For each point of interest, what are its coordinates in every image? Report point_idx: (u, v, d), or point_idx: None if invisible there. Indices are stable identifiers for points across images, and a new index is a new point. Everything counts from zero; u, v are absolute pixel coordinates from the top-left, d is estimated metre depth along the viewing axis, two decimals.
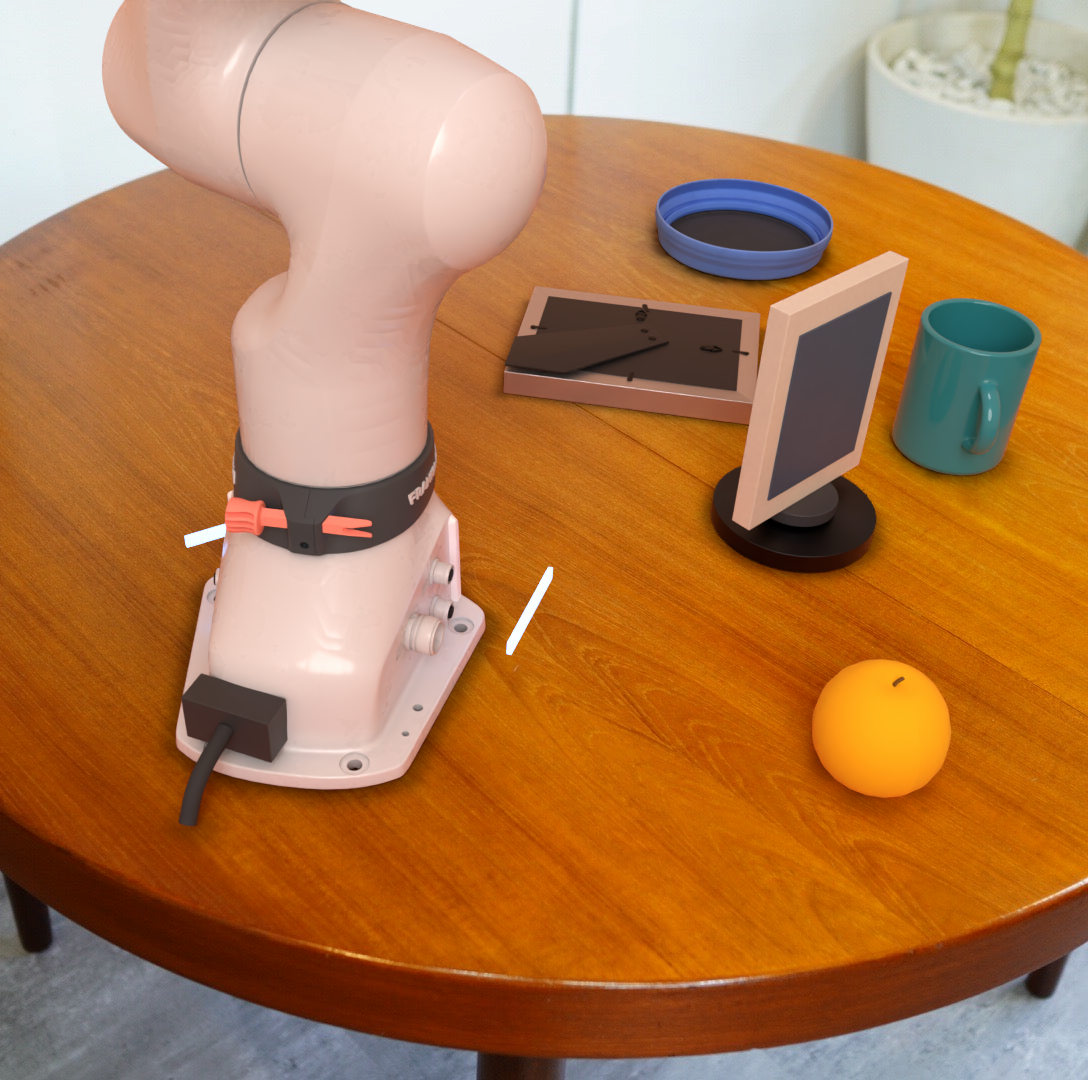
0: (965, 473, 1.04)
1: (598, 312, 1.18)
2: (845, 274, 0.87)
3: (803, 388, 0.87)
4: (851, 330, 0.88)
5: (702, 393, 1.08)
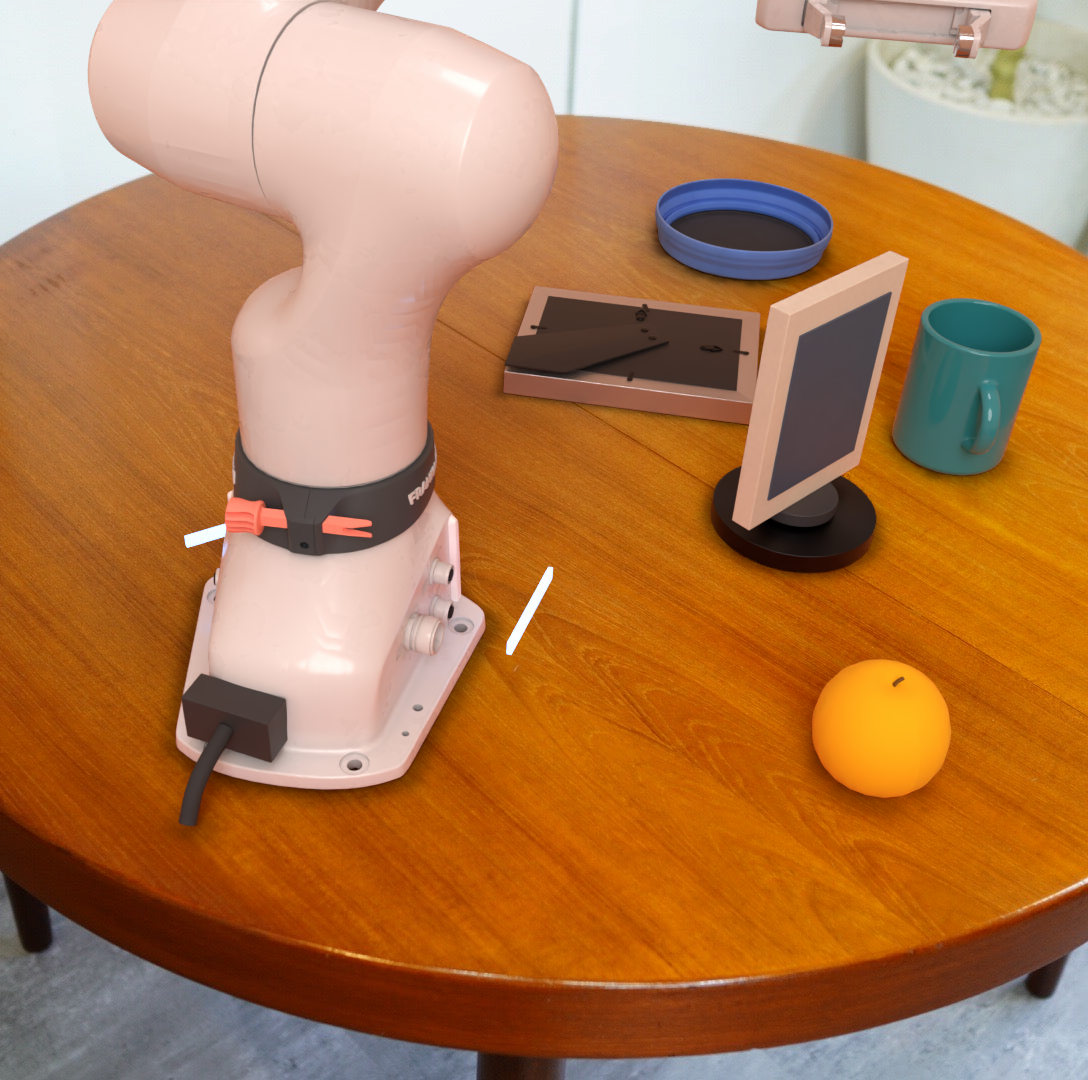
0: (965, 473, 1.04)
1: (598, 312, 1.18)
2: (845, 274, 0.87)
3: (803, 388, 0.87)
4: (851, 330, 0.88)
5: (702, 393, 1.08)
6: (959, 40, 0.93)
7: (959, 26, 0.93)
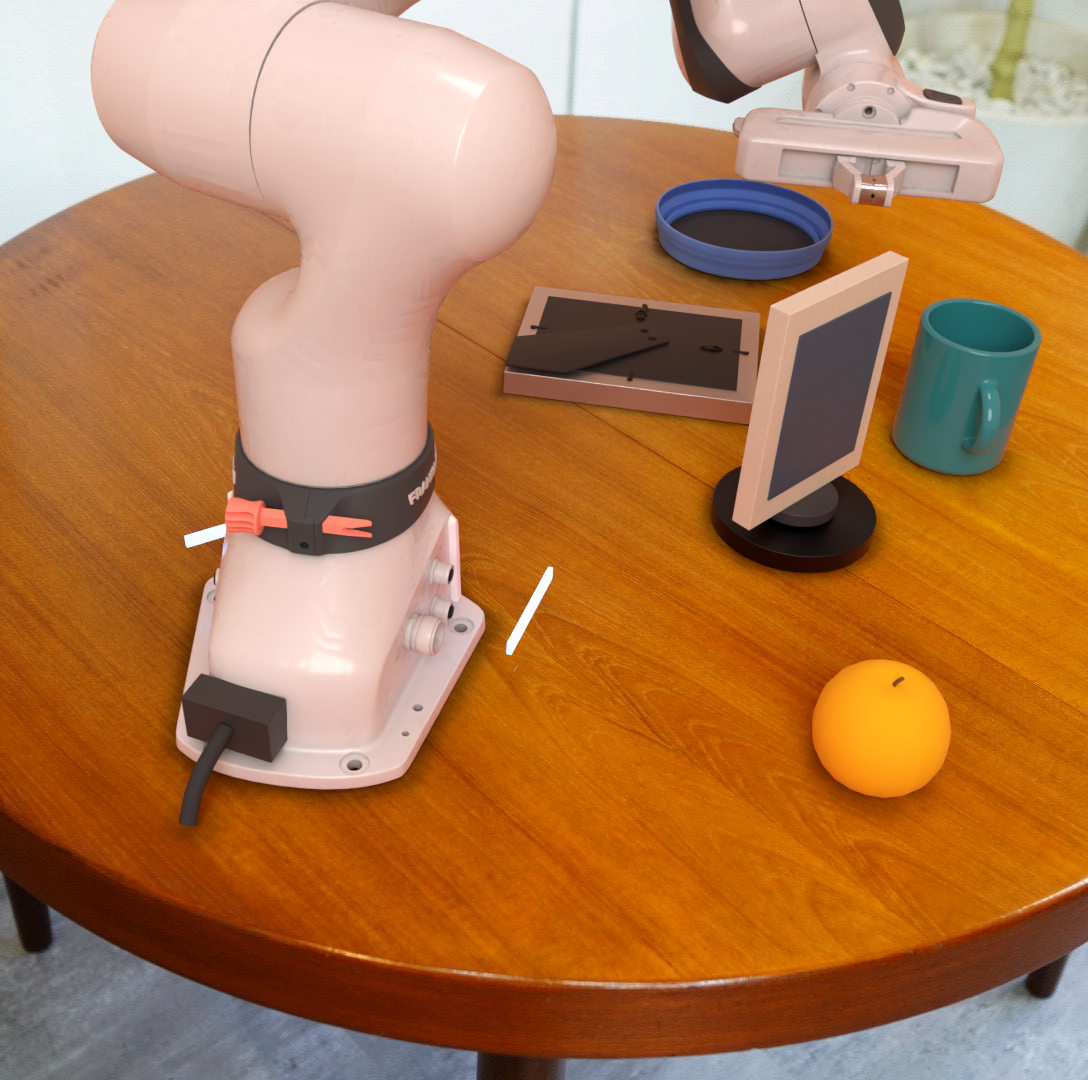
0: (965, 473, 1.04)
1: (598, 312, 1.18)
2: (845, 274, 0.87)
3: (803, 388, 0.87)
4: (851, 330, 0.88)
5: (702, 393, 1.08)
6: (874, 190, 0.97)
7: (874, 177, 0.98)
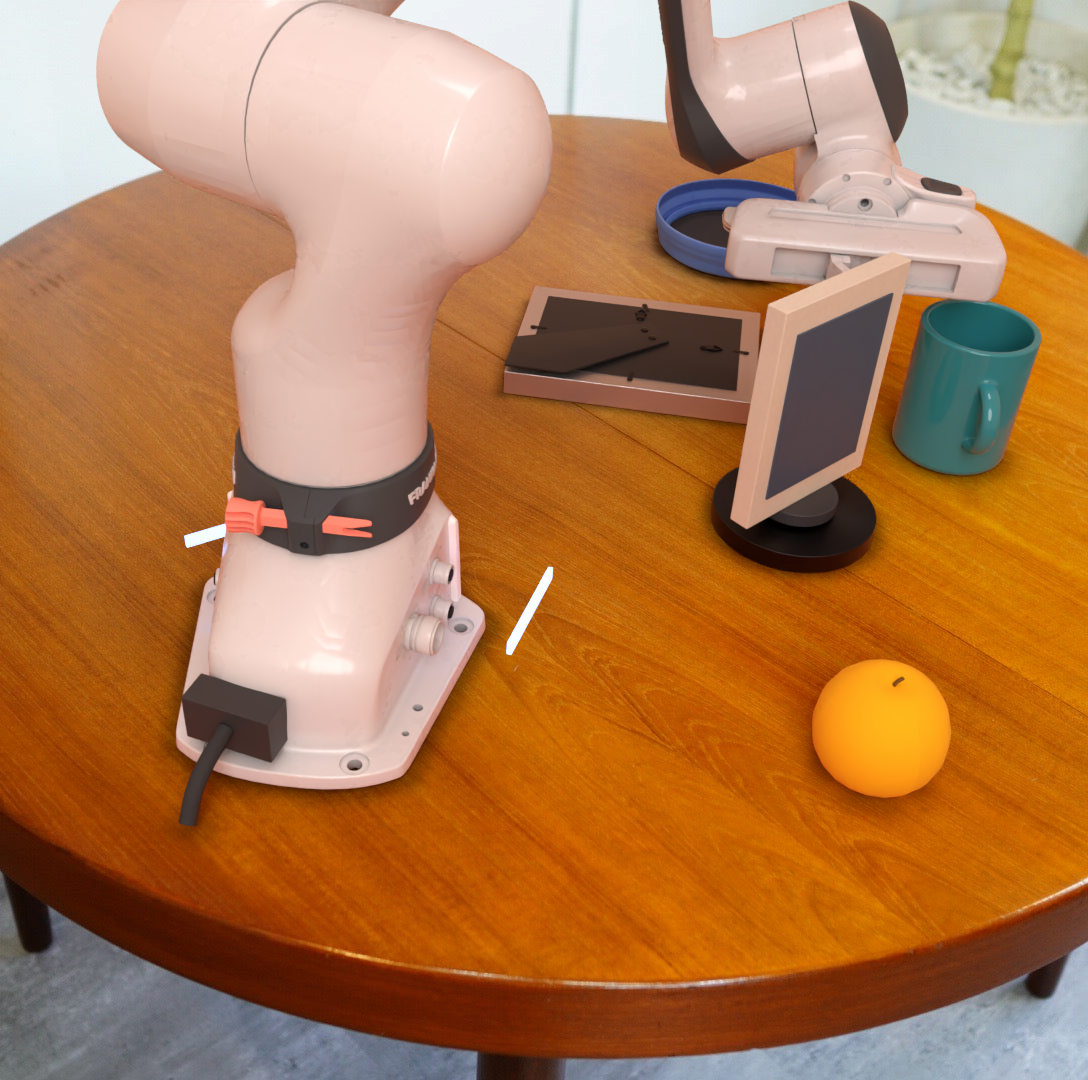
0: (965, 473, 1.04)
1: (598, 312, 1.18)
2: (845, 274, 0.87)
3: (802, 387, 0.87)
4: (851, 330, 0.88)
5: (702, 393, 1.08)
6: None
7: None
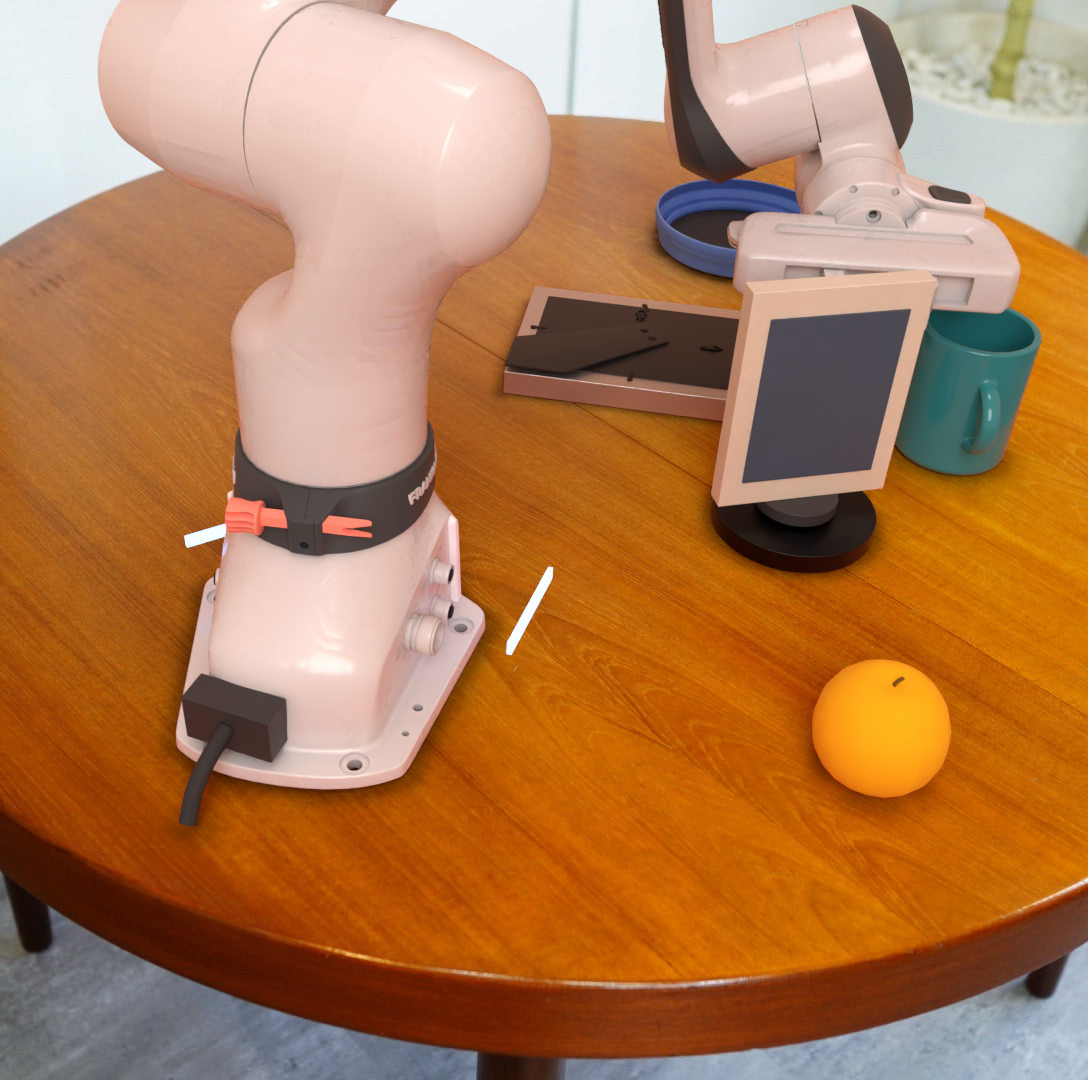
0: (965, 473, 1.04)
1: (598, 312, 1.18)
2: (852, 276, 0.87)
3: (782, 377, 0.88)
4: (849, 334, 0.88)
5: (702, 393, 1.08)
6: None
7: None
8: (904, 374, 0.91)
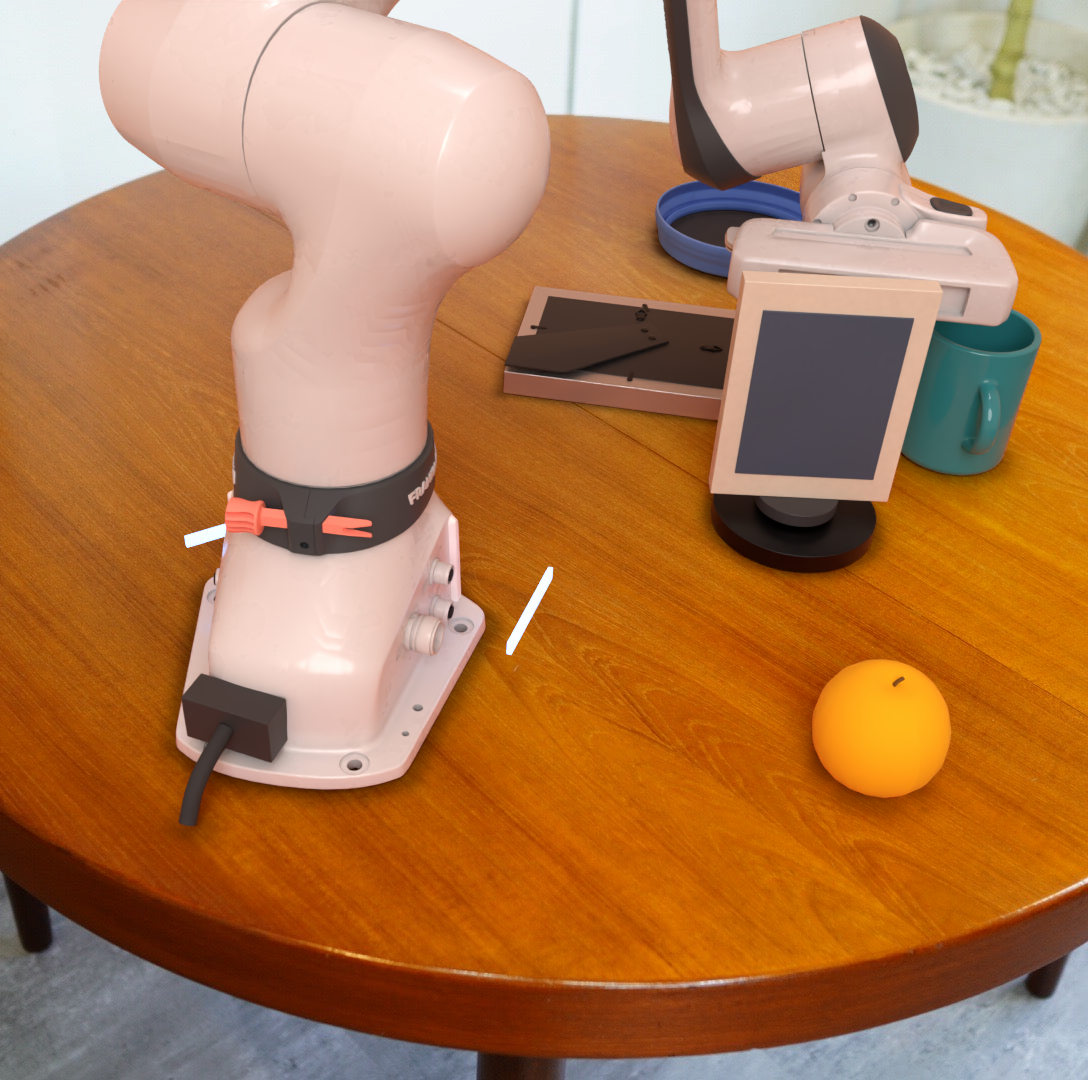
0: (965, 473, 1.04)
1: (598, 312, 1.18)
2: (855, 278, 0.86)
3: (775, 370, 0.89)
4: (847, 336, 0.87)
5: (702, 393, 1.08)
6: None
7: None
8: (908, 385, 0.90)
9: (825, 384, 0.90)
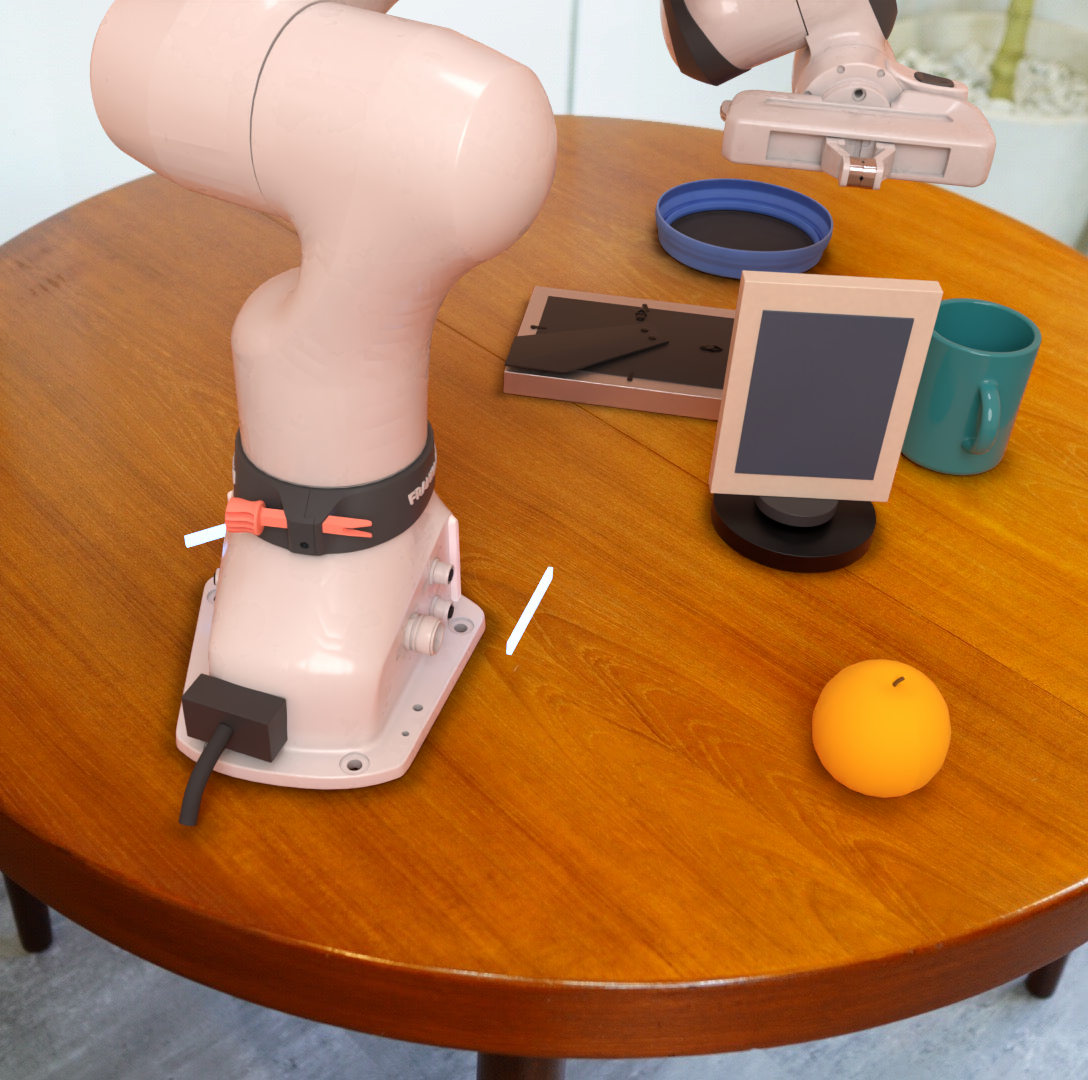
0: (965, 473, 1.04)
1: (598, 312, 1.18)
2: (855, 278, 0.86)
3: (775, 370, 0.89)
4: (847, 336, 0.87)
5: (702, 393, 1.08)
6: (862, 172, 0.95)
7: (863, 159, 0.95)
8: (908, 386, 0.90)
9: (825, 384, 0.90)
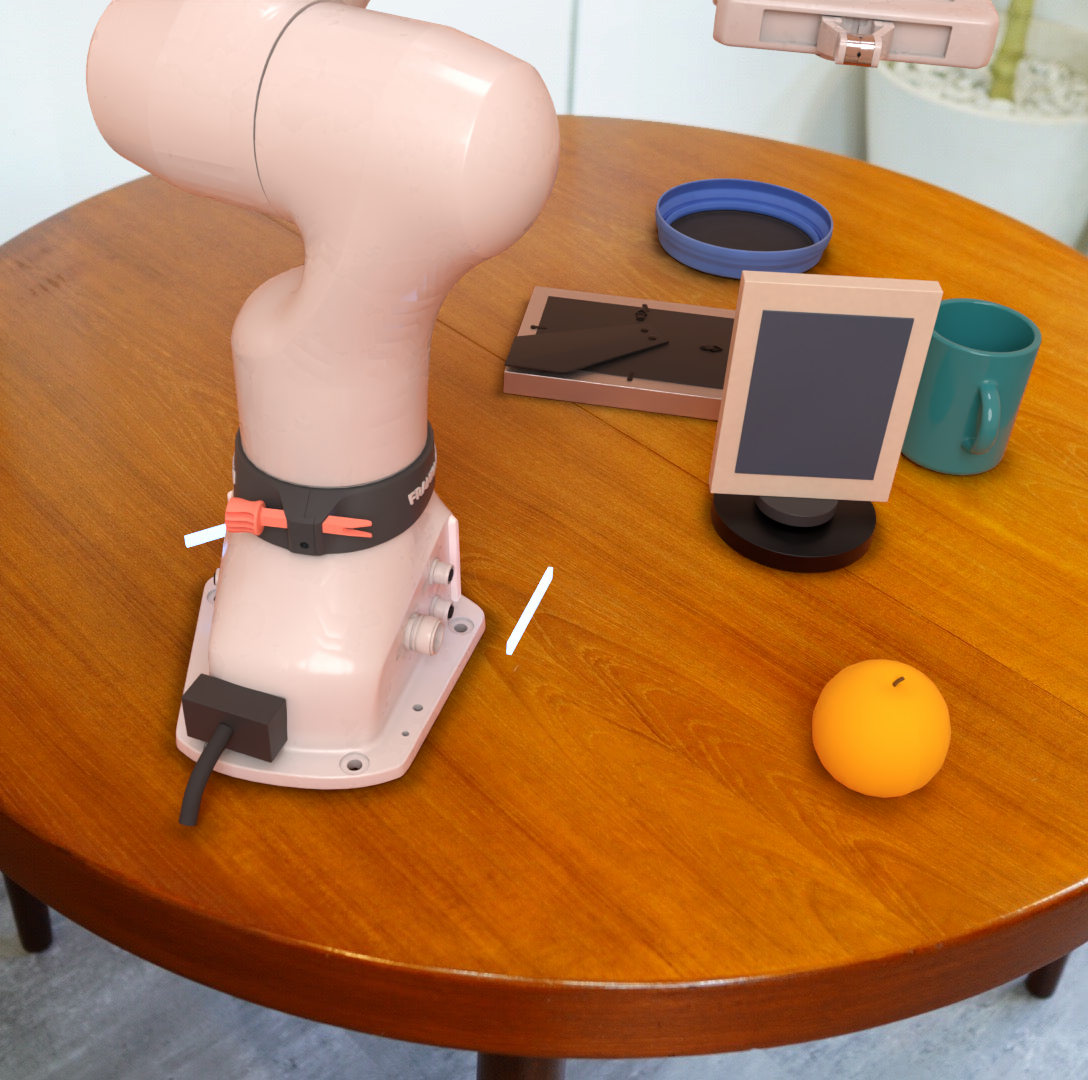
0: (965, 473, 1.04)
1: (598, 312, 1.18)
2: (855, 278, 0.86)
3: (775, 370, 0.89)
4: (847, 336, 0.87)
5: (702, 393, 1.08)
6: (860, 48, 0.91)
7: (861, 35, 0.91)
8: (908, 386, 0.90)
9: (825, 384, 0.90)
